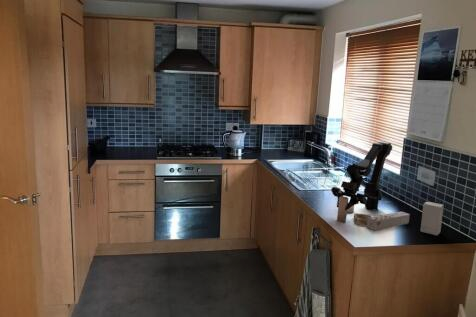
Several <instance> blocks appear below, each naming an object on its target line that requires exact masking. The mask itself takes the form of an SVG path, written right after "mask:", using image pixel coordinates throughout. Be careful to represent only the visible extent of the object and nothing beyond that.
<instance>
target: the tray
mask: <svg viewBox="0 0 476 317" xmlns="http://www.w3.org/2000/svg"><path fill="white" fill-rule="evenodd" d="M353 213H354V212H353ZM368 217H372V215H371V214H365V213H354V214H353V221H354V225H355V224H356V225H361V226H367V218H368Z"/></svg>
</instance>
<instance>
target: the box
mask: <svg viewBox="0 0 476 317" xmlns="http://www.w3.org/2000/svg"><path fill="white" fill-rule="evenodd" d="M409 221H410V213H407V212H404V211H397V212H392V213H385V214H380V215H375V216H371V217H368V218H367V225H366V228H367V229H369V230H372V231H378V230H379V231H380V230H384V229H388V228H389V227H390V228H395V227H398V226H402V225H408V224H409Z"/></svg>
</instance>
